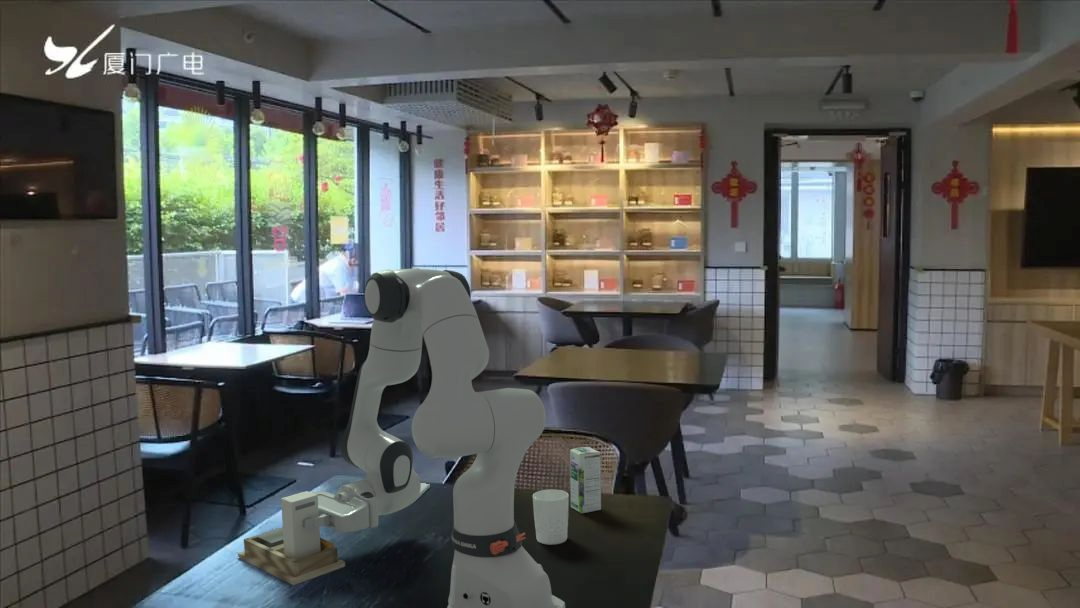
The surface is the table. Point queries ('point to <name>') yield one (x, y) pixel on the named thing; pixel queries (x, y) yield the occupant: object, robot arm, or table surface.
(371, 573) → the table surface
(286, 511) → the white carton
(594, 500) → the syrup box
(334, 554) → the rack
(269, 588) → the table surface
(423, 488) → the external hard drive
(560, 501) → the white cup
